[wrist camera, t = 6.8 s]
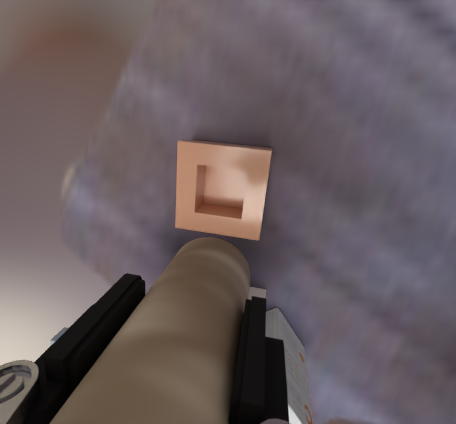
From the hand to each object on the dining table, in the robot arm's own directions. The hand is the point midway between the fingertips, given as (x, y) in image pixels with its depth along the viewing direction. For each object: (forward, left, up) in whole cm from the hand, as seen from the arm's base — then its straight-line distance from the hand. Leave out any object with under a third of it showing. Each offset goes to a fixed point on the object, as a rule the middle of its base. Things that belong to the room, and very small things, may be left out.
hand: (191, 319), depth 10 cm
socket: (+3, 0, -24) cm, 24 cm away
